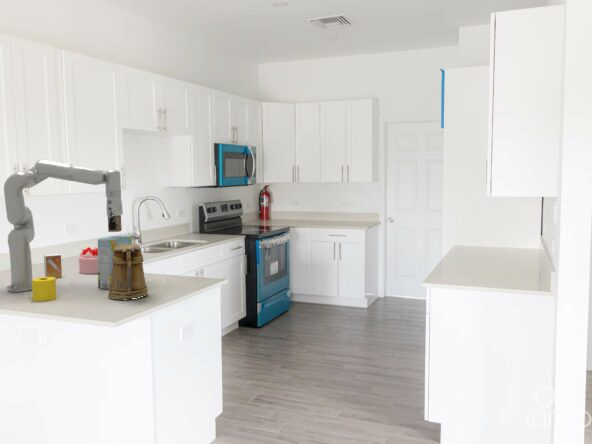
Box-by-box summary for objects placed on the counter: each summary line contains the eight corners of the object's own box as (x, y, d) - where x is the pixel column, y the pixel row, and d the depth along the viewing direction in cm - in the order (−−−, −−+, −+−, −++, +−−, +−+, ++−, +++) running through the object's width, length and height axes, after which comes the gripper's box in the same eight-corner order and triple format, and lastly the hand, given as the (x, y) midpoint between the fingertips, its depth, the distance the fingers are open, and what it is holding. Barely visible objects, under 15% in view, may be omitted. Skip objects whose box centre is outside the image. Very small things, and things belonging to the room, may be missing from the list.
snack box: (113, 289, 268) (111, 239, 266) (97, 289, 270) (95, 239, 267) (134, 281, 289) (132, 234, 287) (119, 280, 291) (118, 234, 289)
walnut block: (117, 231, 274) (117, 216, 273) (108, 231, 275) (107, 216, 274) (121, 230, 279) (121, 215, 278) (112, 230, 280) (111, 215, 279)
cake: (75, 270, 320) (74, 247, 318) (108, 267, 332) (108, 244, 330) (85, 276, 304) (83, 251, 303) (119, 271, 316) (118, 248, 315)
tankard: (144, 290, 267) (142, 241, 265) (152, 300, 246) (151, 247, 243) (106, 293, 259) (104, 243, 257) (111, 304, 238) (109, 250, 236)
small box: (46, 279, 295) (45, 256, 294) (44, 277, 300) (43, 254, 299) (62, 277, 299) (61, 254, 298) (60, 275, 305) (59, 253, 303)
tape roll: (33, 297, 253) (32, 277, 252) (56, 295, 257) (55, 276, 256) (32, 302, 244) (31, 282, 243) (56, 299, 248) (55, 280, 247)
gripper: (113, 194, 266) (115, 230, 268) (126, 193, 283) (128, 227, 285) (99, 194, 267) (100, 230, 269) (113, 193, 284) (114, 227, 286)
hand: (114, 228), depth 277 cm, fingers closed on walnut block, 5 cm apart
